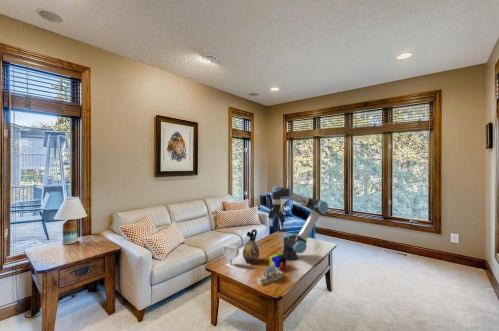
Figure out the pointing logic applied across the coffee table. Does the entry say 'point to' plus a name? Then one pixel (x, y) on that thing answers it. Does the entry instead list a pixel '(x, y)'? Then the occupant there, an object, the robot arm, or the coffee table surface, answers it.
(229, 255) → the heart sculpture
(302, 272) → the coffee table surface
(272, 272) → the clip
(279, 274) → the cream lumpy bar
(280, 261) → the puzzle toy
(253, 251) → the ceramic jug
